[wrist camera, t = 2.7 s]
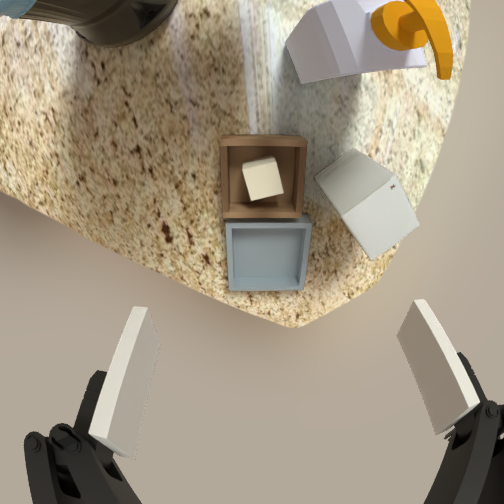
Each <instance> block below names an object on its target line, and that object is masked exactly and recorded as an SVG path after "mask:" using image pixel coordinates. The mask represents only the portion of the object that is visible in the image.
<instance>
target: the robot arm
mask: <svg viewBox="0 0 504 504" xmlns="http://www.w3.org/2000/svg"><path fill="white" fill-rule="evenodd" d="M176 2H177V0H0V15H5V16H9V17H10V18H12V19H18V18H20V19H31V20H39V21H47V22H53V23H59V24H64V25H69V26H70V27H71V28H72V29H73V30H75V31H76V33H77V34H78V35H79V36H80V38H82V39H83V40H84V41H86V42H88V43H90V44H93V45H97V46H102V47H118V46H123V45H127V44H130V43H132V42H135V41H137V40H139V39H141V38H143V37H144V36H146V35H148V34H149V33H151V32H152V31H153V30H155V29H156V28H157V27H158V26H159V25H160V24H161V23H162V22H163V21H164V20H165V19H166V18H167V17H168V15H169V14H170V13H171V11H172V10H173V8H174V6H175V4H176ZM397 338H398V340H399V342H400V344H401V346H402V349H403V351H404V353H405V356H406V358H407V360H408V363H409V365H410V367H411V370H412V372H413V374H414V377H415V379H416V382H417V384H418V387H419V390H420V392H421V395H422V397H423V400H424V403H425V405H426V408H427V411H428V414H429V417H430V419H431V422H432V425H433V428H434V431H435V434H436V435H437V434H440V433H442V432H444V431H446V430H448V429H449V428H451V427H452V426H453V425H454V426H455V428H454V429H453V430H452V431H450V432H449V433H448V434H447V435H446V436H445V438H444V439H447V438H448V437H450V436H451V437H450V438H449V439H448V441H449V444H448V447H447V450H446V453H445V455H444V458H443V461H442V464H441V466H440V469H439V471H438V473H437V476H436V478H435V481H434V483H433V485H432V487H431V489H430V492H429V494H428V496H427V498H426V500H425V502H424V504H504V438H503V439H500V435H501V434H502V433H504V405H497V404H496V403H495V402H494V401H490V400H489V401H488V400H487V398H486V397H485V394H484V392H483V390H482V388H481V386H480V384H479V382H478V380H477V378H476V376H475V375H474V372H473V370H472V369H471V366H470V364H469V362H468V360H467V359H466V357H465V356H464V355H463V354H462V353H461V352H459V353H456V351H455V349H454V348H453V346H452V344H451V342H450V340H449V339H448V337H447V335H446V333H445V332H444V330H443V328H442V326H441V325H440V323H439V322H438V320H437V318H436V317H435V315H434V313H433V312H432V310H431V308H430V307H429V305H428V304H427V302H426V301H425V299H420V300H414V301H413V303H412V305H411V307H410V309H409V312H408V314H407V316H406V318H405V320H404V322H403V324H402V326H401V328H400V330H399V332H398V334H397ZM160 346H161V343H160V340H159V338H158V335H157V333H156V329H155V327H154V324H153V321H152V318H151V315H150V312H149V309H148V307H135V306H134V307H133V309H132V311H131V313H130V316H129V318H128V321H127V323H126V325H125V328H124V330H123V333H122V336H121V338H120V340H119V343H118V346H117V348H116V351H115V353H114V356H113V359H112V362H111V364H110V367H109V370H108V372H104V371H99V370H97V371H96V372H95V374H94V375H93V376H92V377H91V378H90V380H89V383H88V386H87V391H86V392H85V394H84V399H83V400H82V403H81V406H80V409H79V412H78V415H77V419H76V421H75V425H74V427H73V428H72V427H71V426H69V425H68V424H64V423H61V424H57V425H55V426H54V427H53V428H52V429H51V431H50V434H49V437H44V436H43V435H41V434H40V433H38V432H34V431H33V432H30V433H29V434H28V435H27V436H26V438H25V440H24V452H25V461H26V468H27V474H28V481H29V487H30V492H31V497H32V500H33V504H142V503H141V501H140V500H139V499H138V497H137V496H136V494H135V493H134V491H133V490H132V488H131V487H130V485H129V484H128V482H127V480H126V479H125V477H124V475H123V474H122V472H121V470H120V469H119V467H118V465H117V464H116V462H115V460H114V459H113V458H112V457H113V453H116V454H117V455H119V456H122V457H127V458H131V459H135V457H136V451H137V446H138V441H139V436H140V431H141V426H142V421H143V416H144V411H145V407H146V403H147V398H148V394H149V389H150V385H151V381H152V377H153V373H154V369H155V365H156V361H157V357H158V353H159V349H160Z"/></svg>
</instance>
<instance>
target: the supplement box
mask: <svg viewBox="0 0 504 504" xmlns="http://www.w3.org/2000/svg"><path fill="white" fill-rule="evenodd" d="M314 179H315V181H316V182H317V183H318V185H319V186H320V188H321V189H322V190H323V192H324V193H325V195H326V196H327V198H328V199H329V201H330V202H331V204H332V205H333V206H334V208H335V209H336V211H337V212H338V214H339V215H340V217H341V218H342V220H343V221H344V223H345V225H346V226H347V228H348V229H349V231H350V232H351V233H352V235H353V236H354V238H355V239H356V241H357V242H358V243H359V245H360V246H361V248H362V249H363V250H364V252H365V253H366V254H367V256H368V257H369V259H370V260H371V261H373V260H374V259H375V258H377V257H378V256H380V255H381V254H382V253H384V252H385V251H387V250H388V249H389V248H391V247H392V246H393V245H395V244H396V243H398V242H399V241H400V240H401V239H403V238H404V237H405V236H407V235H408V234H410V233H411V232H412V231H414V230H415V229H416V228H418V227H419V226H420V223H419V221H418V219H417V216H416V214H415V212H414V210H413V208H412V205H411V203H410V201H409V199H408V197H407V195H406V193H405V191H404V189H403V187H402V185H401V183H400V181H399V179H398V177H397V175H396V174H395V173H393V172H392V171H390V170H389V169H387V168H386V167H384V166H382V165H381V164H379V163H378V162H376V161H375V160H373V159H371V158H370V157H368V156H367V155H365V154H363V153H362V152H360V151H358V150H356V149H355V148H352V149H350V150H349V151H348V152H346V153H345V154H343V155H342V156H341V157H339V158H338V159H337V160H335V161H334V162H333V163H331V164H330V165H329V166H327V167H326V168H325V169H323V170H322V171H321V172H319V173H318V174H317V175H315V176H314Z"/></svg>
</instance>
